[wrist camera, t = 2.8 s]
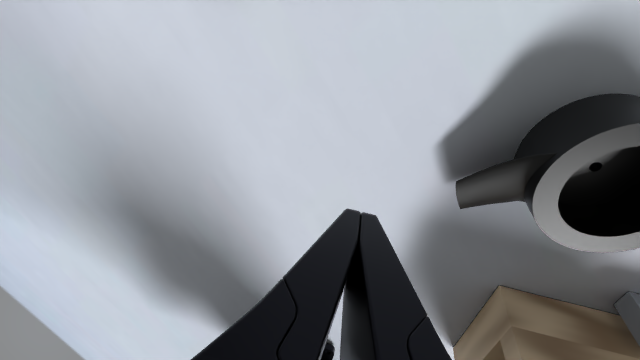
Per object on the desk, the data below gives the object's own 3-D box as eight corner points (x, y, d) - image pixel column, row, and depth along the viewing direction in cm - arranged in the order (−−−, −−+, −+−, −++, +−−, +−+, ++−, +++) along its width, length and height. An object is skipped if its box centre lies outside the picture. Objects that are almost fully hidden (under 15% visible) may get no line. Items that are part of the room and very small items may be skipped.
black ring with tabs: (530, 30, 13) (561, 47, 10) (787, 113, 13) (880, 150, 10) (436, 188, 17) (443, 226, 15) (626, 250, 17) (664, 298, 15)
